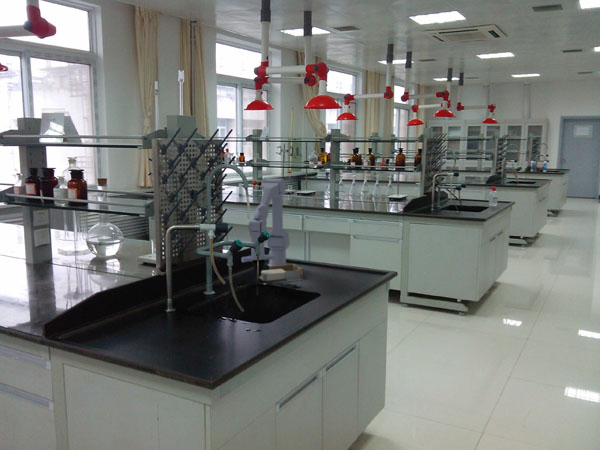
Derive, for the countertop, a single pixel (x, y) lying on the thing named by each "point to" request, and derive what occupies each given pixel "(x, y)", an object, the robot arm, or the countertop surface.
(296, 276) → the bookend
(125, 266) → the countertop surface
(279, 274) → the cream rectangular block
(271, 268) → the brown wooden tray
